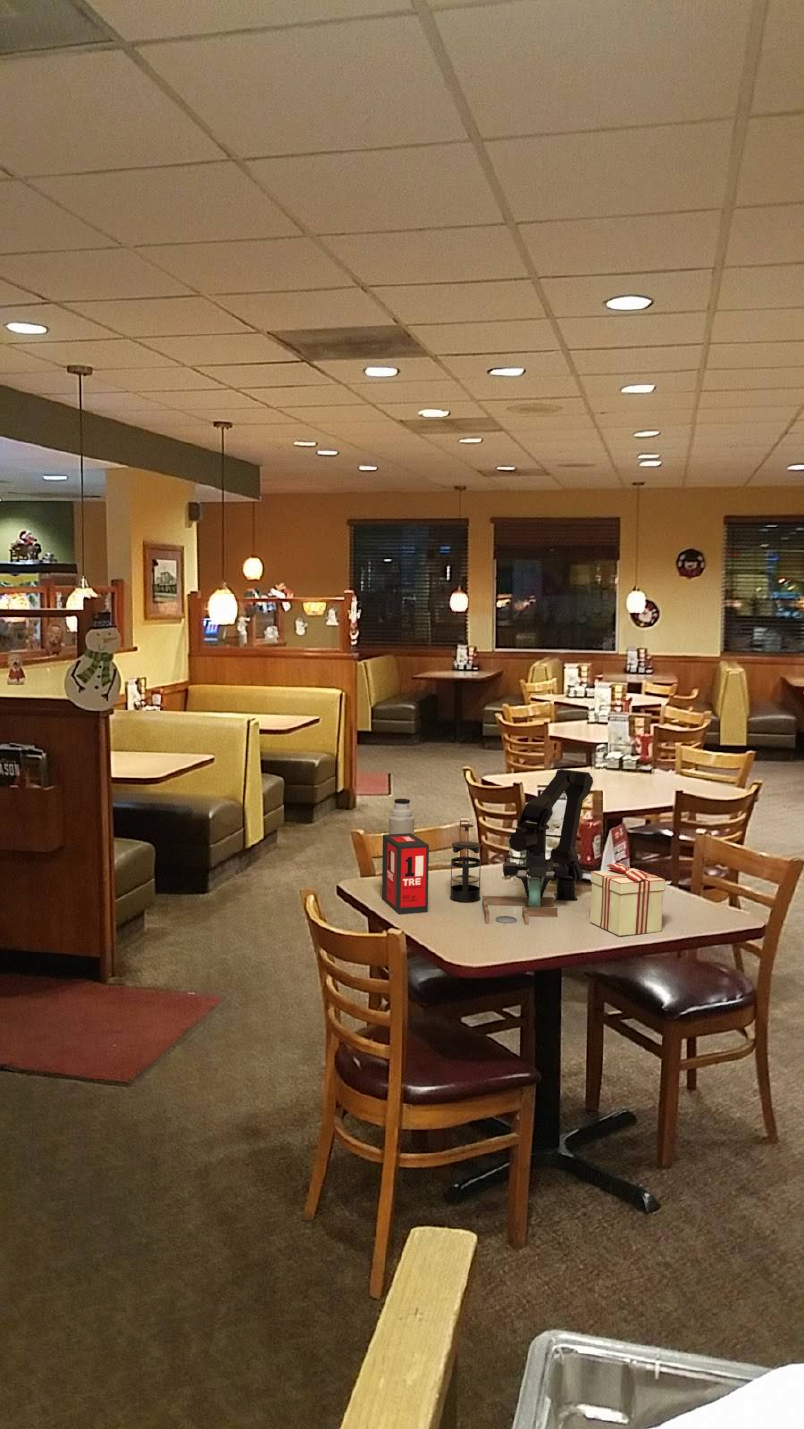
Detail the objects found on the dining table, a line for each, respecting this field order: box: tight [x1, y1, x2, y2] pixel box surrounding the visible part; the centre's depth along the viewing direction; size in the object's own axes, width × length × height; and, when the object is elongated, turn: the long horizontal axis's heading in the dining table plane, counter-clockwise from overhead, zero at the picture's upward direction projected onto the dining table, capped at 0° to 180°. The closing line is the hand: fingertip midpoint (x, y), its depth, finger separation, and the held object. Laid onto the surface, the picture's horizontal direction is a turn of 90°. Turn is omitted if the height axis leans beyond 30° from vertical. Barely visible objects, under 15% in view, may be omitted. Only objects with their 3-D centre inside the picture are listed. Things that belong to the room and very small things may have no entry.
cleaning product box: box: [381, 833, 430, 915], centre depth 326 cm, size 16×9×20 cm, turn 18°
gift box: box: [589, 862, 666, 937], centre depth 309 cm, size 17×18×17 cm
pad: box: [495, 915, 518, 924], centre depth 314 cm, size 6×6×1 cm
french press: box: [449, 823, 482, 904], centre depth 335 cm, size 12×9×23 cm
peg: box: [527, 876, 542, 907], centre depth 323 cm, size 4×4×8 cm
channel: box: [481, 895, 558, 926], centre depth 320 cm, size 20×21×2 cm
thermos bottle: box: [388, 798, 415, 836], centre depth 347 cm, size 8×8×28 cm
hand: (534, 898), depth 323 cm, fingers closed on peg, 3 cm apart
